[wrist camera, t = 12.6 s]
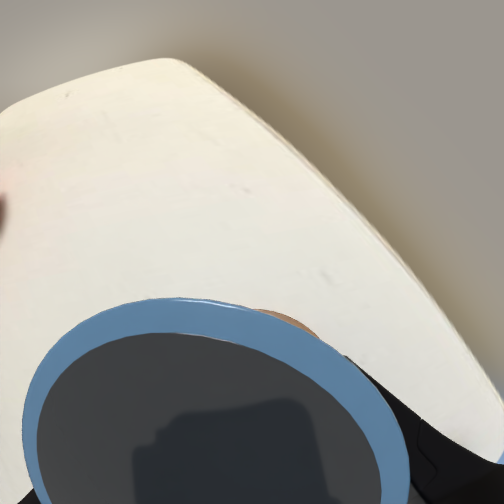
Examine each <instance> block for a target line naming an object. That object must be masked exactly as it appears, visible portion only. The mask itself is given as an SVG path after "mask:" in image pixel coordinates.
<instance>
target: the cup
mask: <svg viewBox="0 0 504 504" xmlns="http://www.w3.org/2000/svg"><path fill="white" fill-rule="evenodd" d="M22 441H23V450H24V457H25V461H26V465H27V469H28V473H29V476H30V479H31V482H32V485H33V487H34V490H35V492H36V495H37V497H38V499H39V501H40V502H41V504H407V502H408V496H409V487H410V467H409V455H408V452H407V448H406V444H405V440H404V437H403V433H402V431H401V429H400V426H399V424H398V422H397V420H396V418H395V416H394V414H393V412H392V410H391V408H390V407H389V405H388V404H387V402H386V401H385V399H384V398H383V397H382V395H381V394H380V392H379V391H378V389H377V388H376V387H375V386H374V385H373V384H372V382H371V381H370V380H369V379H368V378H367V377H366V376H365V375H364V374H363V373H362V372H361V371H360V370H359V369H358V368H357V367H356V366H355V365H354V364H353V363H352V362H350V361H349V360H348V359H346V358H345V357H344V356H343V355H341V354H340V353H339V352H338V351H336V350H335V349H334V348H333V347H331V346H330V345H328V344H327V343H325V342H323V341H322V340H320V339H318V338H317V337H315V336H313V335H312V334H310V333H308V332H307V331H305V330H304V329H301V328H299V327H297V326H295V325H292V324H290V323H288V322H286V321H284V320H281V319H279V318H277V317H275V316H272V315H269V314H266V313H263V312H260V311H257V310H253V309H250V308H247V307H244V306H241V305H235V304H230V303H225V302H220V301H215V300H210V299H196V298H182V297H176V298H157V299H147V300H142V301H137V302H132V303H126V304H123V305H120V306H117V307H114V308H111V309H108V310H105V311H102V312H100V313H98V314H96V315H94V316H92V317H91V318H89V319H87V320H85V321H83V322H81V323H80V324H78V325H77V326H76V327H74V328H73V329H72V330H70V331H69V332H68V333H66V334H65V335H64V336H63V337H62V338H61V339H60V340H59V341H58V342H57V343H56V344H55V345H54V346H53V347H52V348H51V349H50V350H49V351H48V353H47V354H46V356H45V357H44V359H43V360H42V362H41V363H40V365H39V366H38V368H37V370H36V372H35V374H34V376H33V379H32V381H31V383H30V386H29V389H28V392H27V396H26V399H25V404H24V411H23V418H22Z"/></svg>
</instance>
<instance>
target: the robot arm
mask: <svg viewBox="0 0 504 504" xmlns="http://www.w3.org/2000/svg"><path fill="white" fill-rule="evenodd" d="M343 356H344V357H345V358H346V359H348V360H349V361H350V362H352V363H353V364H354V365H355V366H356V367H357V368H358V369H359V370H360V371H361V372H362V373H363V374H364V375H365V376H366V377H367V378H368V379H369V380H370V381H371V382H372V384H373V385H374V386H375V387H376V388H377V389H378V391H379V392H380V394H381V395H382V397H383V398H384V399H385V401H386V402H387V404H388V405H389V407H390V408H391V410H392V412H393V414H394V416H395V418H396V420H397V422H398V424H399V426H400V429H401V431H402V433H403V437H404V440H405V444H406V448H407V452H408V455H409V467H410V487H409V496H408V502H407V504H504V465H502V464H496V463H493V462H490V461H487V460H485V459H483V458H481V457H480V456H478V455H476V454H474V453H473V452H471V451H469V450H467V449H466V448H464V447H462V446H460V445H459V444H457V443H455V442H454V441H452V440H451V439H449V438H447V437H446V436H444V435H443V434H441V433H440V432H439V431H437V430H436V429H435V428H433V427H432V426H431V425H429V424H428V423H427V422H426V421H425V420H423V419H421V417H419V416H418V415H417V414H416V413H415V412H413V411H412V410H411V409H410V408H408V407H407V406H406V405H405V404H404V403H402V402H401V401H400V400H399V399H397V398H396V397H395V396H394V395H393V394H391V393H390V392H389V391H388V390H387V389H385V388H384V387H383V386H382V385H380V384H379V383H378V382H377V381H376V380H374V379H373V378H372V377H371V376H370V375H368V374H367V373H366V372H365V371H364V370H362V369H361V368H360V367H359V366H358V365H356V364H355V363H354V362H353V361H352V360H351V359H349V358H348V357H347V356H345V355H343ZM18 504H41V502H40V501H39V499H38V497H37V495H36V492H35V490H34V488H33V489H32V490H31V491H30V492H29V493H28V494H27V495H26V496H25V497H24V498H23V499H22V500H21V501H20V502H19V503H18Z"/></svg>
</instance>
